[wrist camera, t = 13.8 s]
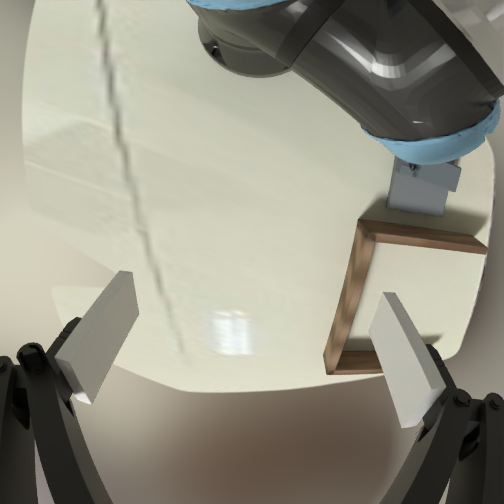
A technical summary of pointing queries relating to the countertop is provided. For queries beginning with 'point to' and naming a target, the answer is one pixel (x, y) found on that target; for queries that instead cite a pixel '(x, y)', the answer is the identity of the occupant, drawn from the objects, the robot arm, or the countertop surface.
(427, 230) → the u-shaped wooden frame
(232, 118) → the countertop surface
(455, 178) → the bracket
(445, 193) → the slate mat
